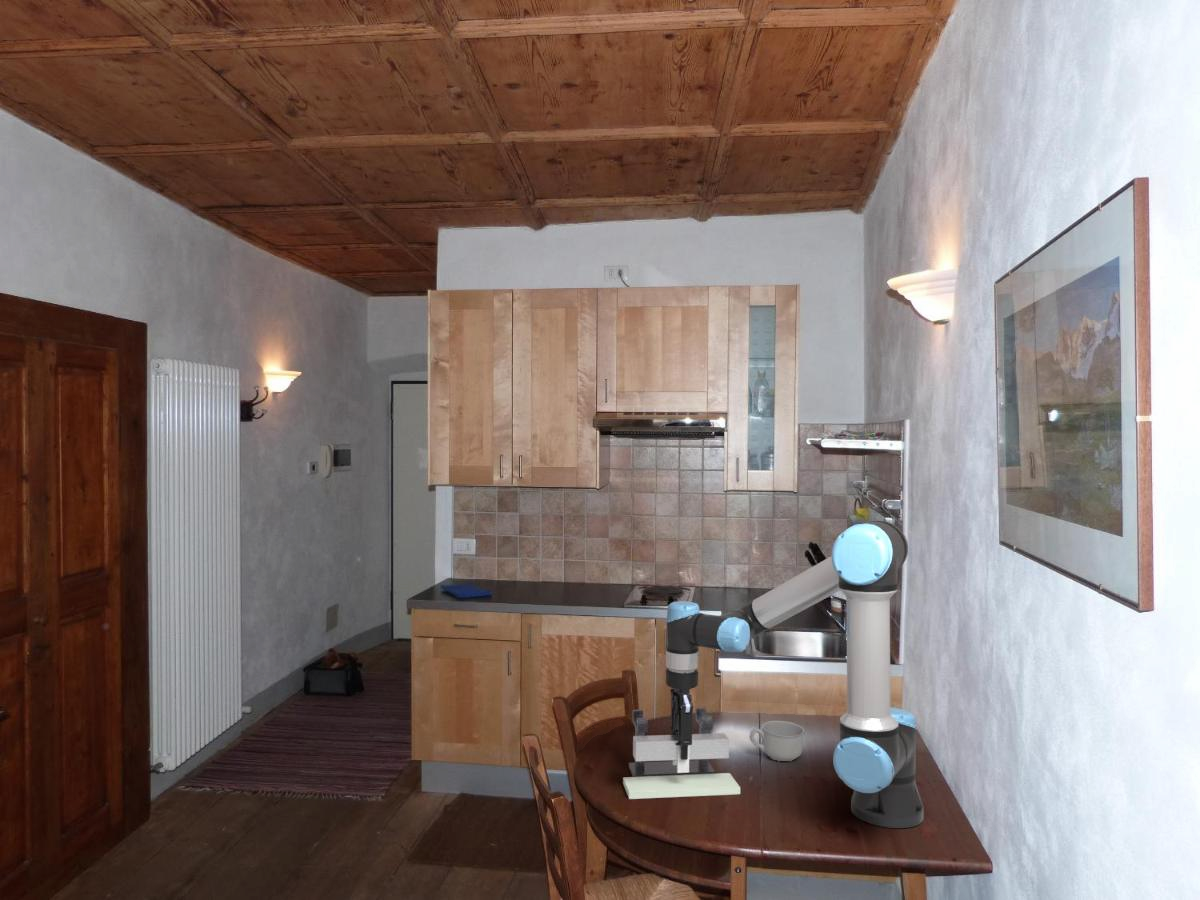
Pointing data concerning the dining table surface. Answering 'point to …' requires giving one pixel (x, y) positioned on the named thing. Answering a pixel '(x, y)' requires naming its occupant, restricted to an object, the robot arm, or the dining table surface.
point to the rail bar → (667, 749)
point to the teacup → (780, 740)
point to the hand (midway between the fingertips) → (680, 767)
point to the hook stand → (667, 766)
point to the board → (680, 785)
